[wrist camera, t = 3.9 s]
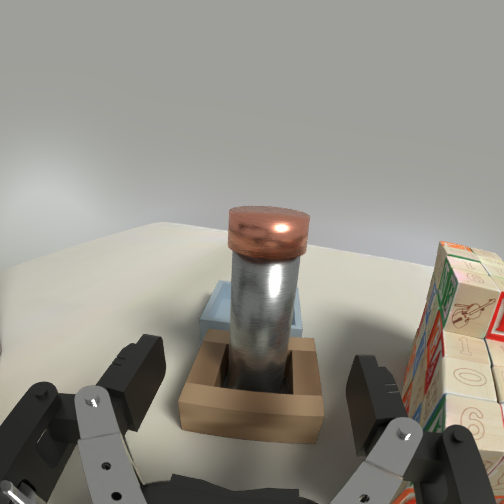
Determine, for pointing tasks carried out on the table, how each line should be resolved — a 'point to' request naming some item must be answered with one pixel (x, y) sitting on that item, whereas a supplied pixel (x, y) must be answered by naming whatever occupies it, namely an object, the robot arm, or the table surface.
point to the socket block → (253, 397)
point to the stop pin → (263, 293)
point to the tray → (219, 312)
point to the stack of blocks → (461, 357)
